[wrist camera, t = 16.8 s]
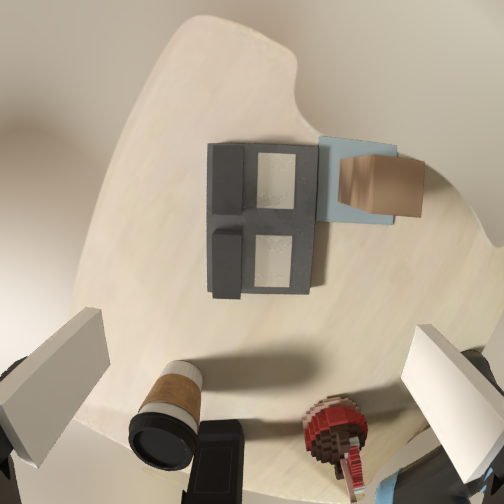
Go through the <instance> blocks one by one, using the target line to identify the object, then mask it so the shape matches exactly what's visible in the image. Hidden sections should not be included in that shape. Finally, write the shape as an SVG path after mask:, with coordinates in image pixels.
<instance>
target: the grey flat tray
mask: <svg viewBox="0 0 504 504" xmlns="http://www.w3.org/2000/svg"><path fill="white" fill-rule="evenodd" d="M317 164H318V147H310V146H295V145H275V144H238V143H209V144H208V150H207V290H208V292H213V298H216V299H240V298H241V293H250V294H309V291H310V280H311V268H312V256H313V242H314V227H315V210H316V190H317Z"/></svg>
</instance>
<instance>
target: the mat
mask: <svg viewBox="0 0 504 504" xmlns="http://www.w3.org/2000/svg"><path fill="white" fill-rule="evenodd" d="M373 154H377V155H384V156H392V157H397V146H396V145H390V144H383V143H376V142H369V141H361V140H353V139H344V138H335V137H325V136H319V155H318V184H317V205H316V221H323V222H344V223H363V224H380V225H393V215H380V214H371V213H368V212H365V211H363V210H360V209H357V208H354V207H351V206H349V205H346V204H343V203H340V202H338V189H339V163H340V159H346V158H352V157H359V156H366V155H373Z"/></svg>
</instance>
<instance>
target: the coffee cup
mask: <svg viewBox="0 0 504 504" xmlns="http://www.w3.org/2000/svg"><path fill="white" fill-rule="evenodd" d="M202 381H203V379H202V374H201V372H200V371H199V369H198V368H197V367H195V366H194V365H193V364H191V363H189V362H186V361H173V362H170V363H169V364H167V365H166V367H165V368H164V370H163V371H162V373H161V375H160V377H159V378H158V380H157V381H156V383H155V384H154V386H153V388H152V389H151V391H150V392H149V394H148V396H147V397H146V399H145V400H144V402H143V404H142V405H141V407H140V409H139V411H138V414H137V415H135V416H134V417H133V418H132V419H131V421H130V425H129V437H128V439H129V444H130V447H131V449H132V450H133V452H134V453H135V454H136V455H137V457H138V458H139V459H141V460H142V461H143V462H144V463H146V464H148V465H150V466H152V467H155V468H158V469H161V470H165V471H177V470H181V469H184V468H186V467H187V466H188V465H189V464H190V462H191V460H192V457H193V455H194V454H195V453H196V452H197V449H198V447H199V438H198V436H197V434H198V432H199V421H200V406H201V390H202Z"/></svg>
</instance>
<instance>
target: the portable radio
mask: <svg viewBox="0 0 504 504" xmlns="http://www.w3.org/2000/svg"><path fill="white" fill-rule="evenodd" d="M197 436H198V438H199V447H198V449H197V452H196V453H195V454H194V458H193V463H192V468H191V473H190V478H189V484H188V489H187V492H185V491H184V490H183V492H182V499H181V500H182V501H181V504H242V487H243V465H244V445H245V439H244V435H243V431H242V427H241V425H240V423H239V422H238V421H237V420H219V421H202V422H200V425H199V432H198V434H197Z"/></svg>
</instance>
